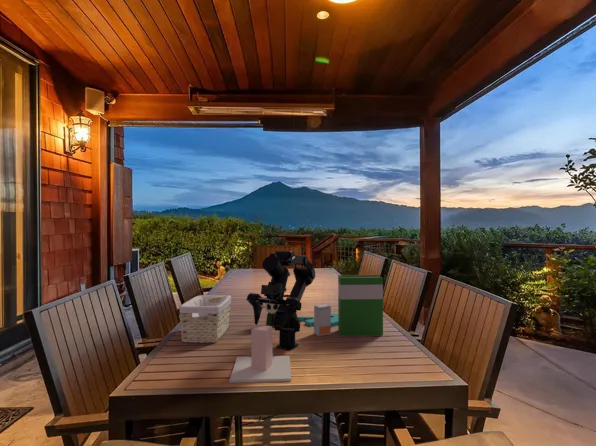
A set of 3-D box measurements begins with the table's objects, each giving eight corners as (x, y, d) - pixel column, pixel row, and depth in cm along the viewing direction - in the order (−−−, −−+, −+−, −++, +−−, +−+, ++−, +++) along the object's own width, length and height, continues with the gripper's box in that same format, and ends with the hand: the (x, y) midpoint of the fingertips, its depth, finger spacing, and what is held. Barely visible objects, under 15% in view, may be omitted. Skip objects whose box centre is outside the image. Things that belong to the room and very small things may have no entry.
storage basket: (197, 326, 161) (197, 294, 161) (232, 326, 160) (232, 294, 160) (177, 344, 137) (177, 306, 137) (219, 344, 136) (219, 306, 136)
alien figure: (292, 321, 170) (321, 330, 155) (292, 316, 170) (321, 325, 155) (321, 314, 183) (351, 322, 168) (321, 310, 183) (351, 317, 168)
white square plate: (237, 359, 122) (237, 356, 122) (289, 358, 122) (289, 355, 122) (229, 382, 104) (229, 379, 104) (291, 381, 104) (291, 378, 104)
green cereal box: (378, 329, 155) (378, 274, 155) (383, 335, 148) (382, 277, 148) (338, 330, 155) (338, 275, 155) (340, 335, 147) (340, 277, 147)
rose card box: (258, 362, 116) (258, 324, 116) (272, 365, 114) (272, 326, 114) (251, 368, 111) (251, 329, 111) (265, 371, 110) (265, 330, 110)
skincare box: (318, 336, 146) (318, 307, 146) (313, 333, 150) (313, 305, 150) (331, 334, 148) (331, 306, 148) (326, 331, 152) (326, 303, 152)
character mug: (259, 328, 158) (259, 298, 158) (262, 323, 165) (262, 295, 165) (284, 328, 158) (284, 298, 158) (285, 323, 165) (285, 295, 165)
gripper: (246, 271, 123) (233, 315, 115) (296, 275, 117) (286, 322, 109) (258, 284, 132) (246, 325, 124) (305, 288, 126) (296, 332, 118)
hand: (268, 326), depth 119 cm, fingers open, 9 cm apart
